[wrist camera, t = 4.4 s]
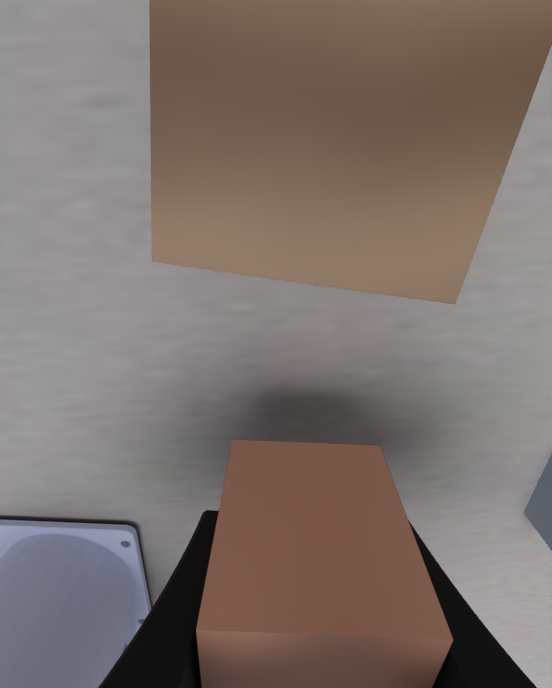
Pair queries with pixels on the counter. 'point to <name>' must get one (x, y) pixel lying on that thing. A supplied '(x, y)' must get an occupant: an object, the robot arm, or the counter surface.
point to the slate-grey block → (542, 505)
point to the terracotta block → (316, 575)
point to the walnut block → (337, 135)
